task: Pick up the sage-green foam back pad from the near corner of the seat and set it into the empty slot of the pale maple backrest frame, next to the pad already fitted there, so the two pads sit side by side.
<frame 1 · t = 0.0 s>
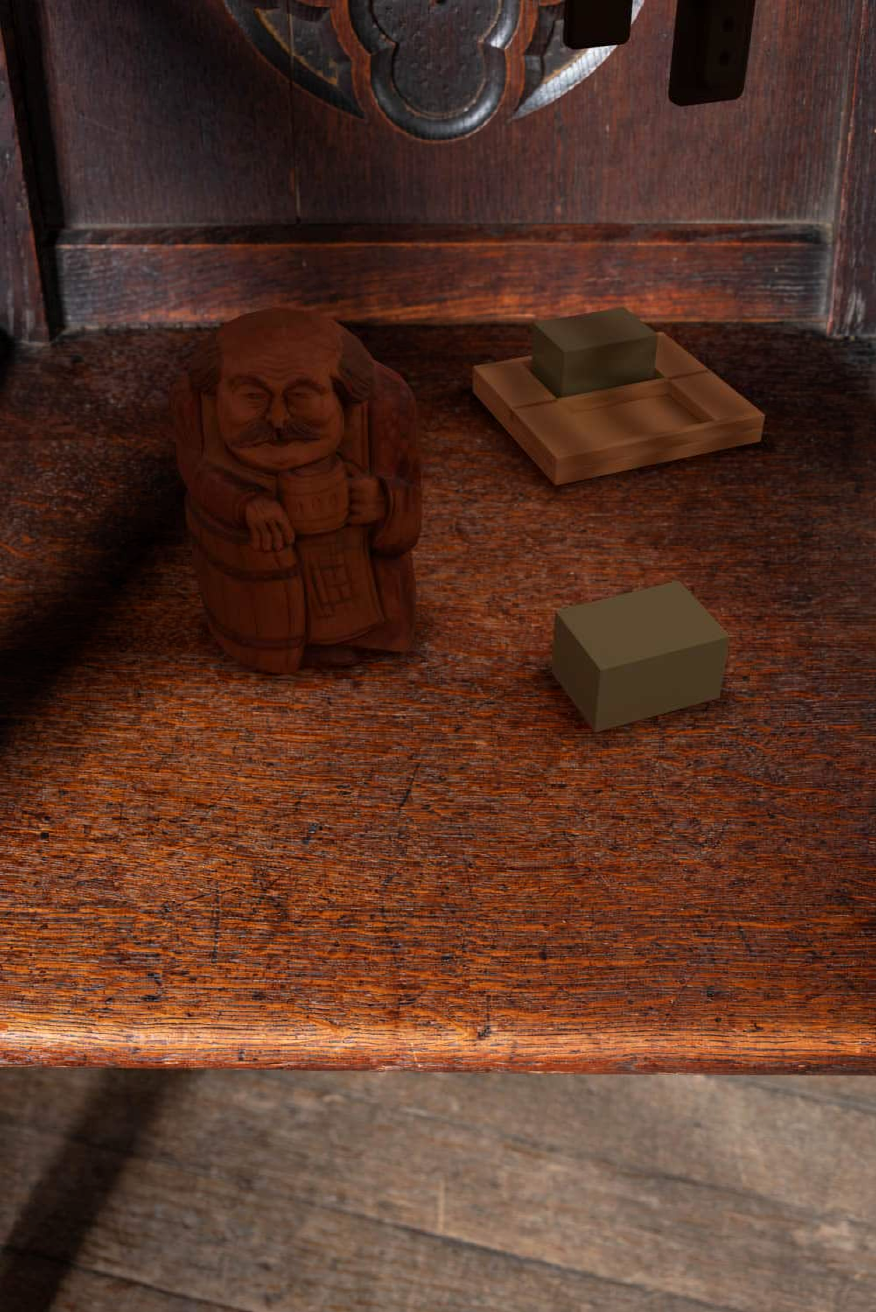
hand: (647, 71, 54), 27 cm above the bench, tool pointing down, fingers open, 9 cm apart
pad: (634, 685, 64), on the bench
frame: (611, 416, 86), on the bench
wooden figurine: (314, 638, 68), on the bench
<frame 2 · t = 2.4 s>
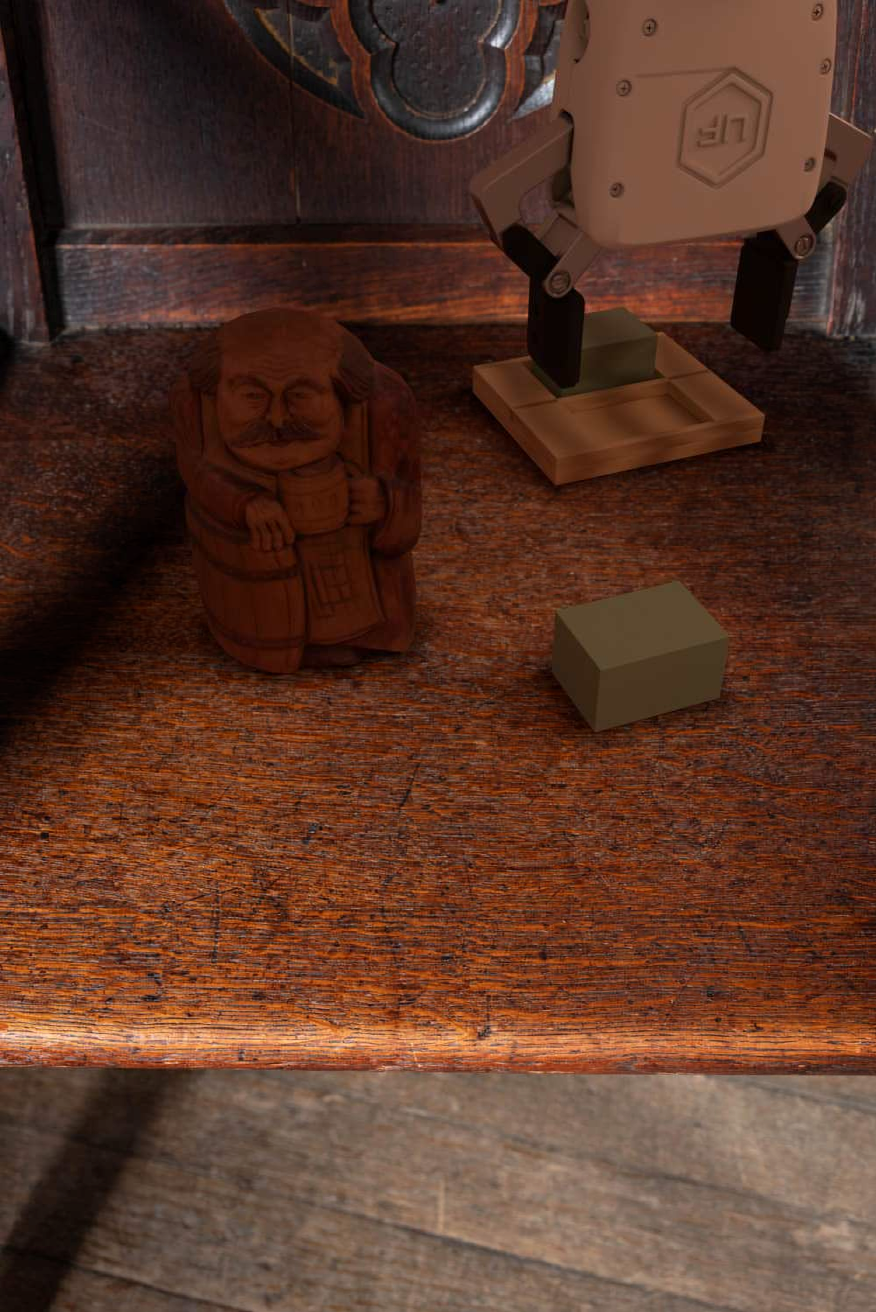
hand: (657, 356, 54), 17 cm above the bench, tool pointing down, fingers open, 9 cm apart
nothing on the bench moved.
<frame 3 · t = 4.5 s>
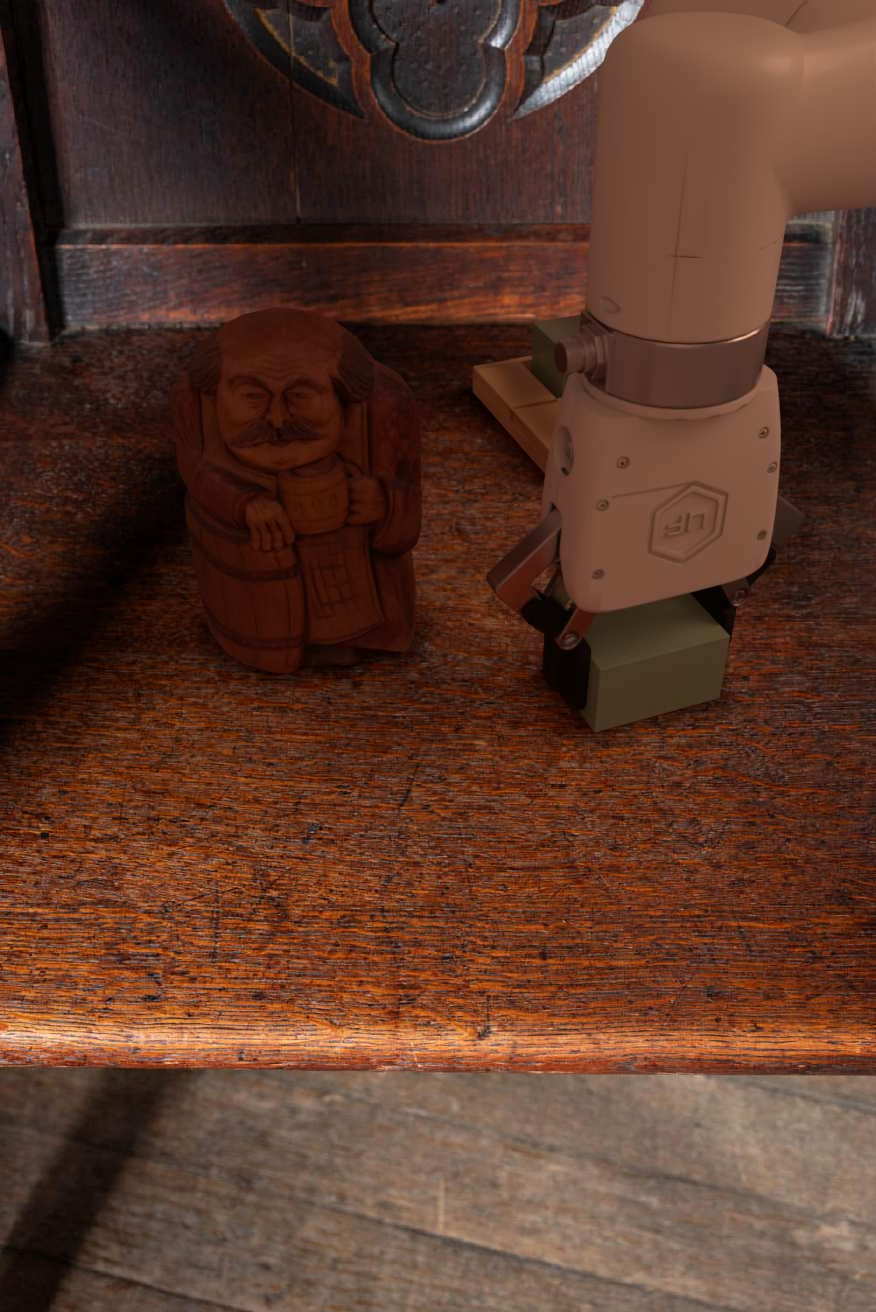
hand: (635, 673, 63), 1 cm above the bench, tool pointing down, fingers closed on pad, 7 cm apart
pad: (634, 685, 64), on the bench, touching gripper
everything else where it was.
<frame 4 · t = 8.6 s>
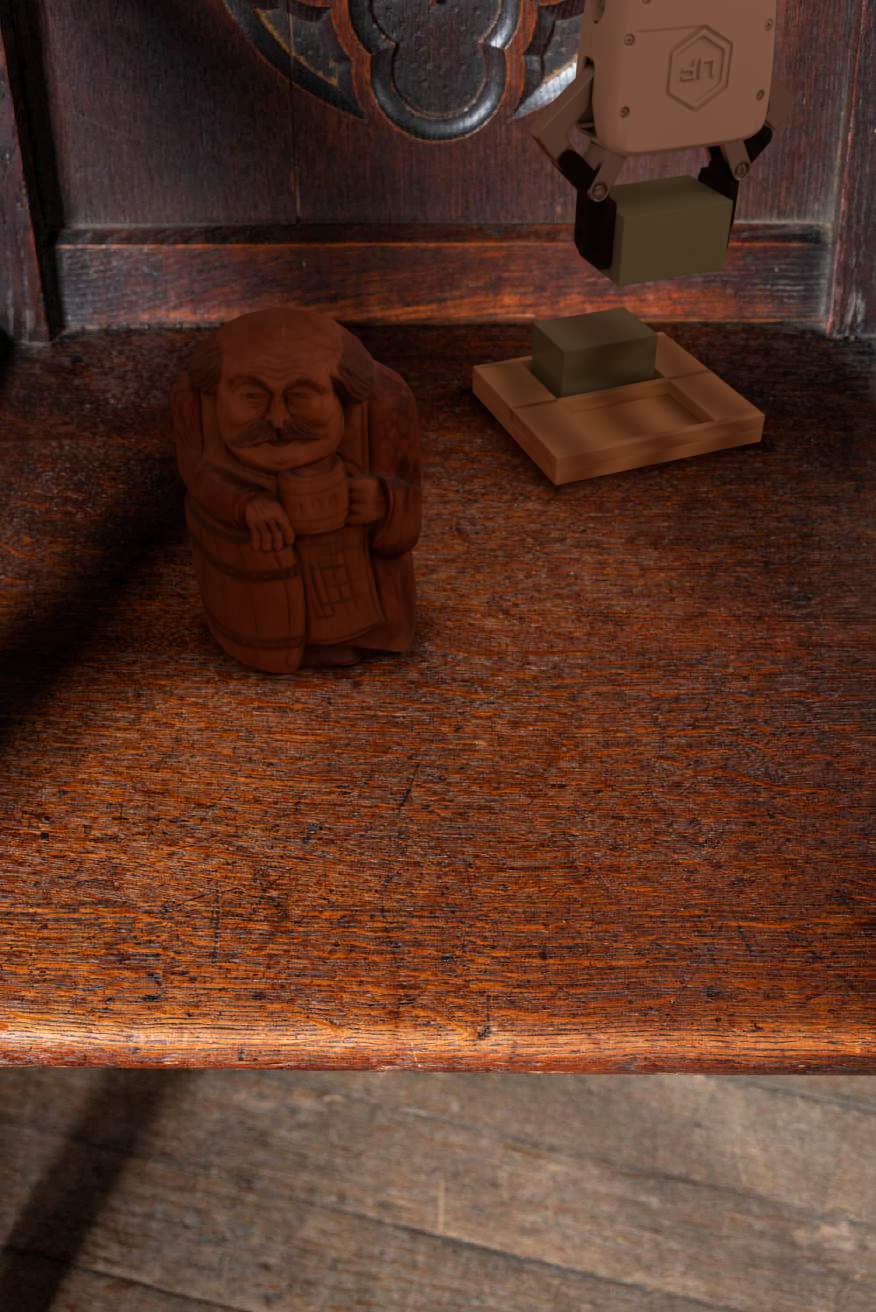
hand: (652, 250, 75), 13 cm above the bench, tool pointing down, fingers closed on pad, 7 cm apart
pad: (651, 262, 75), point 12 cm above the bench, touching gripper
everything else where it was.
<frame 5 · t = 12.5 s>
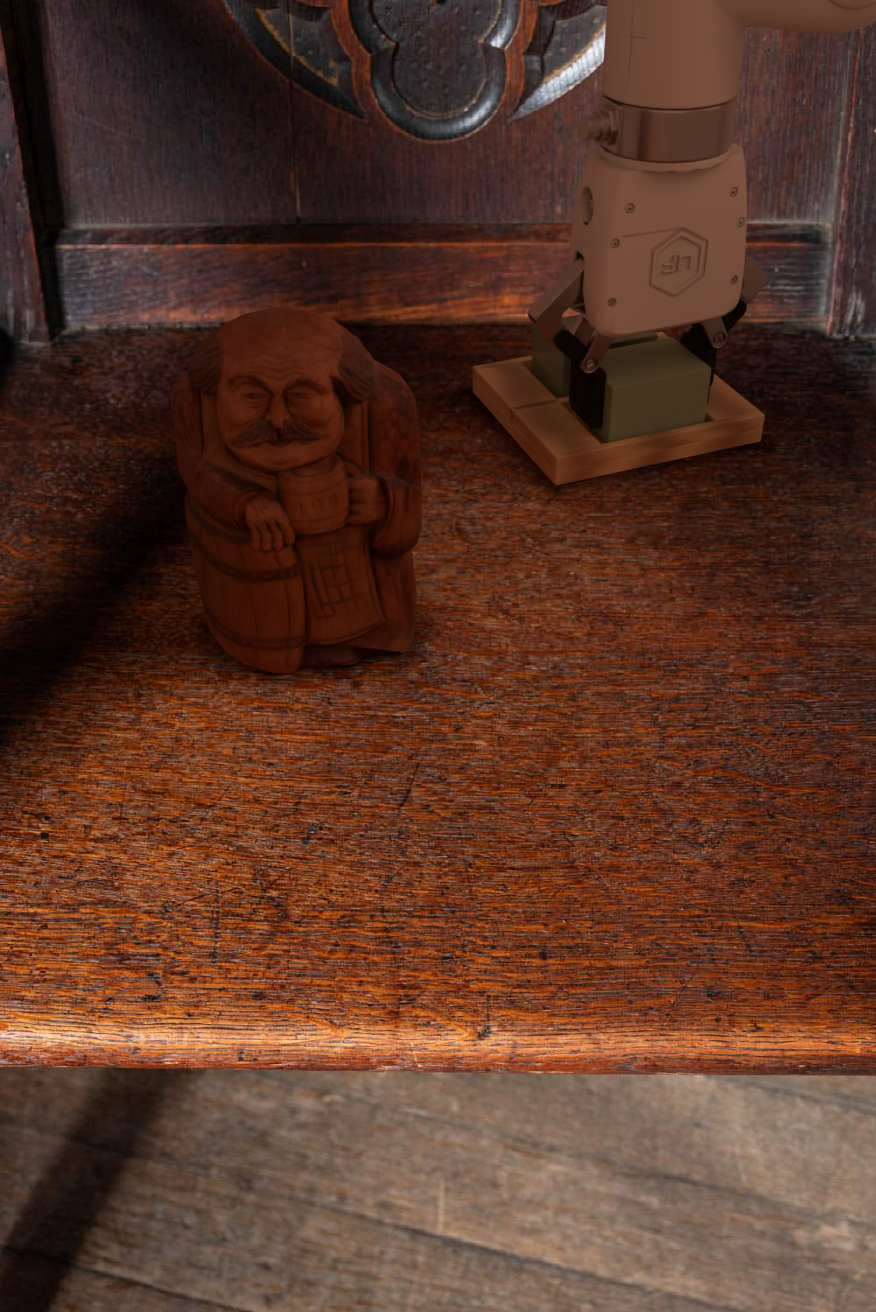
hand: (640, 406, 82), 2 cm above the bench, tool pointing down, fingers closed on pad, 7 cm apart
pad: (638, 417, 83), point 1 cm above the bench, touching gripper
everything else where it was.
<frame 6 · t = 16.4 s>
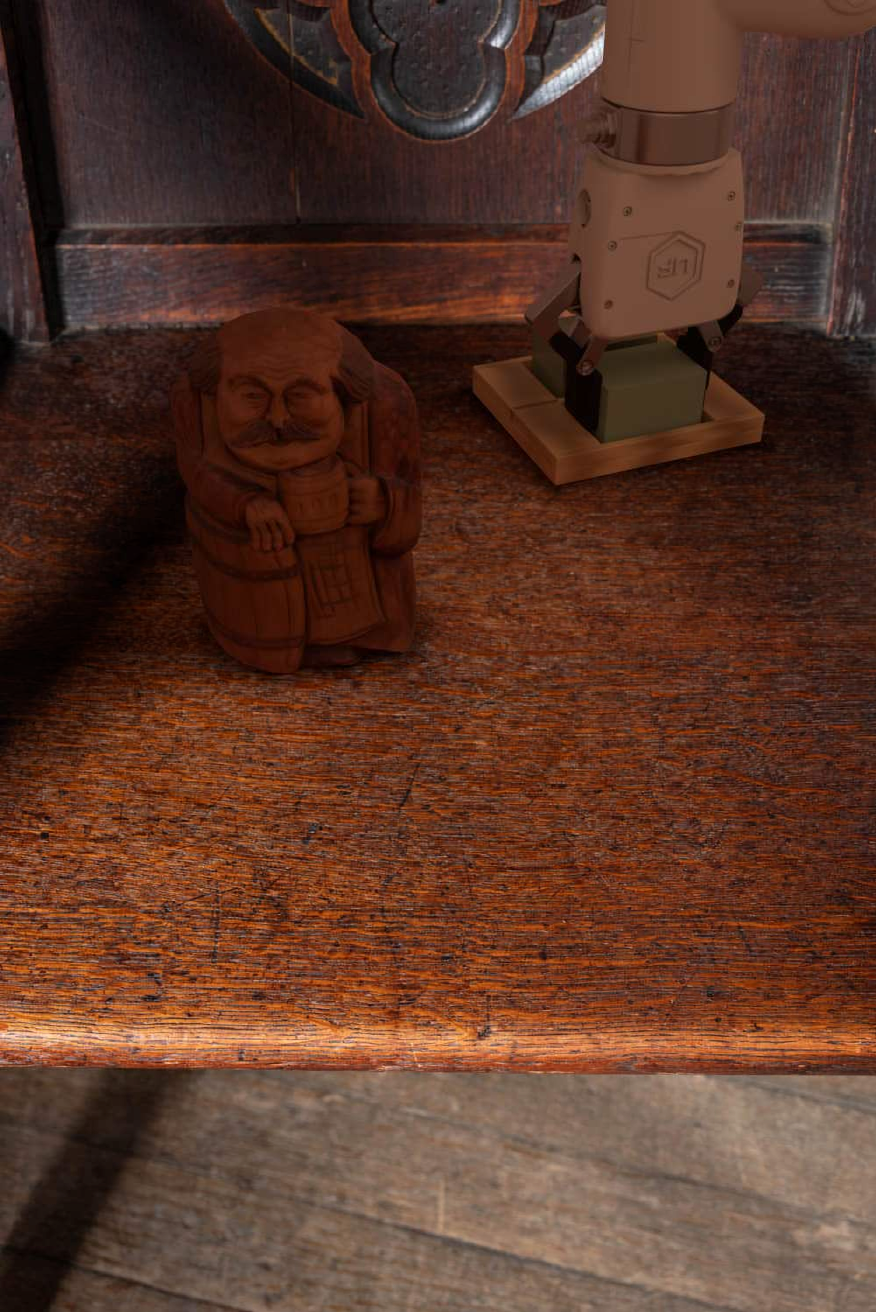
hand: (635, 409, 82), 2 cm above the bench, tool pointing down, fingers closed on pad, 7 cm apart
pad: (634, 420, 83), point 1 cm above the bench, touching gripper
everything else where it was.
when the fingers open (3 cm above the bench, at t = 20.0 s): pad drops 1 cm, resting on frame.
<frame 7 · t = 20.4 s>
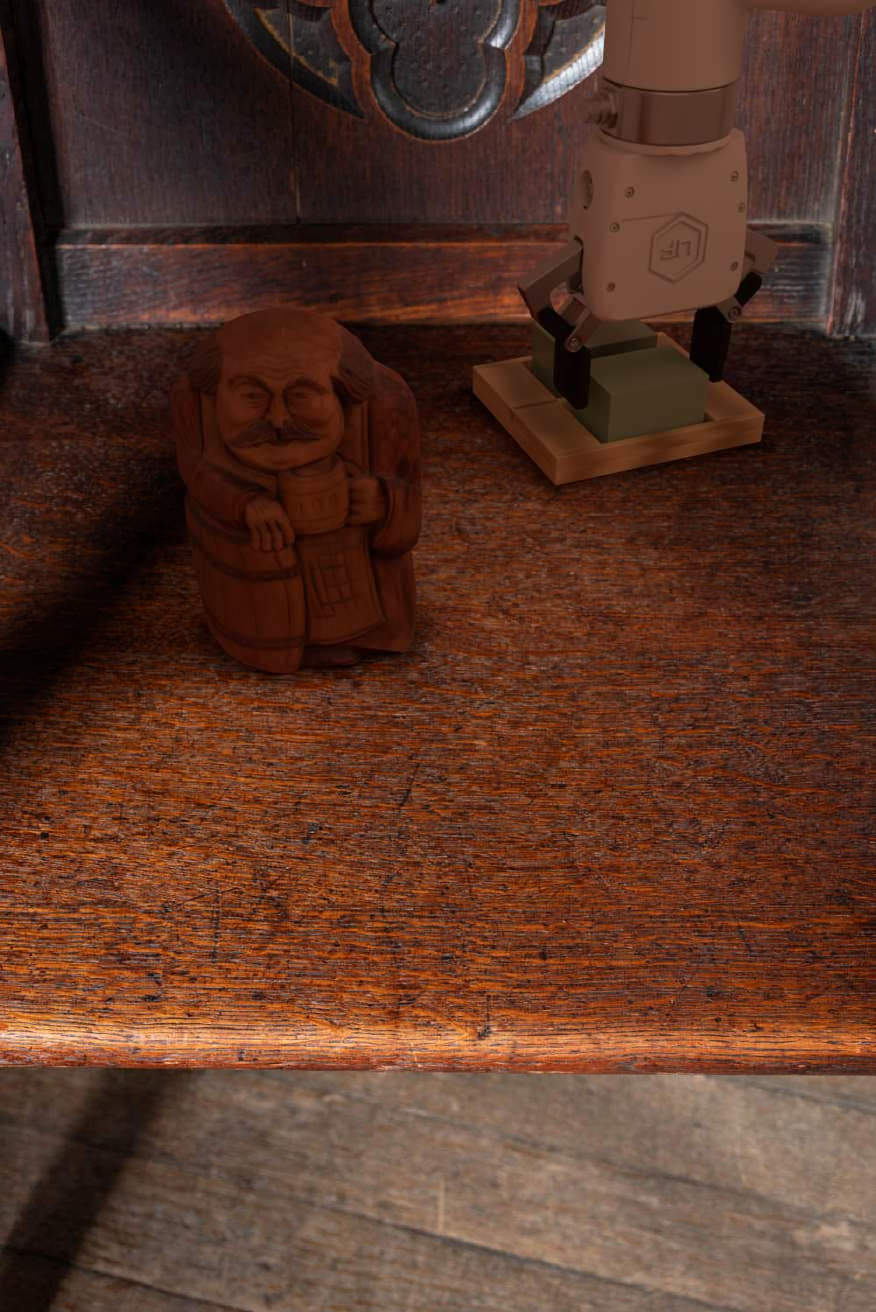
hand: (639, 386, 81), 4 cm above the bench, tool pointing down, fingers open, 9 cm apart
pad: (636, 424, 83), point 1 cm above the bench, touching frame
everything else where it was.
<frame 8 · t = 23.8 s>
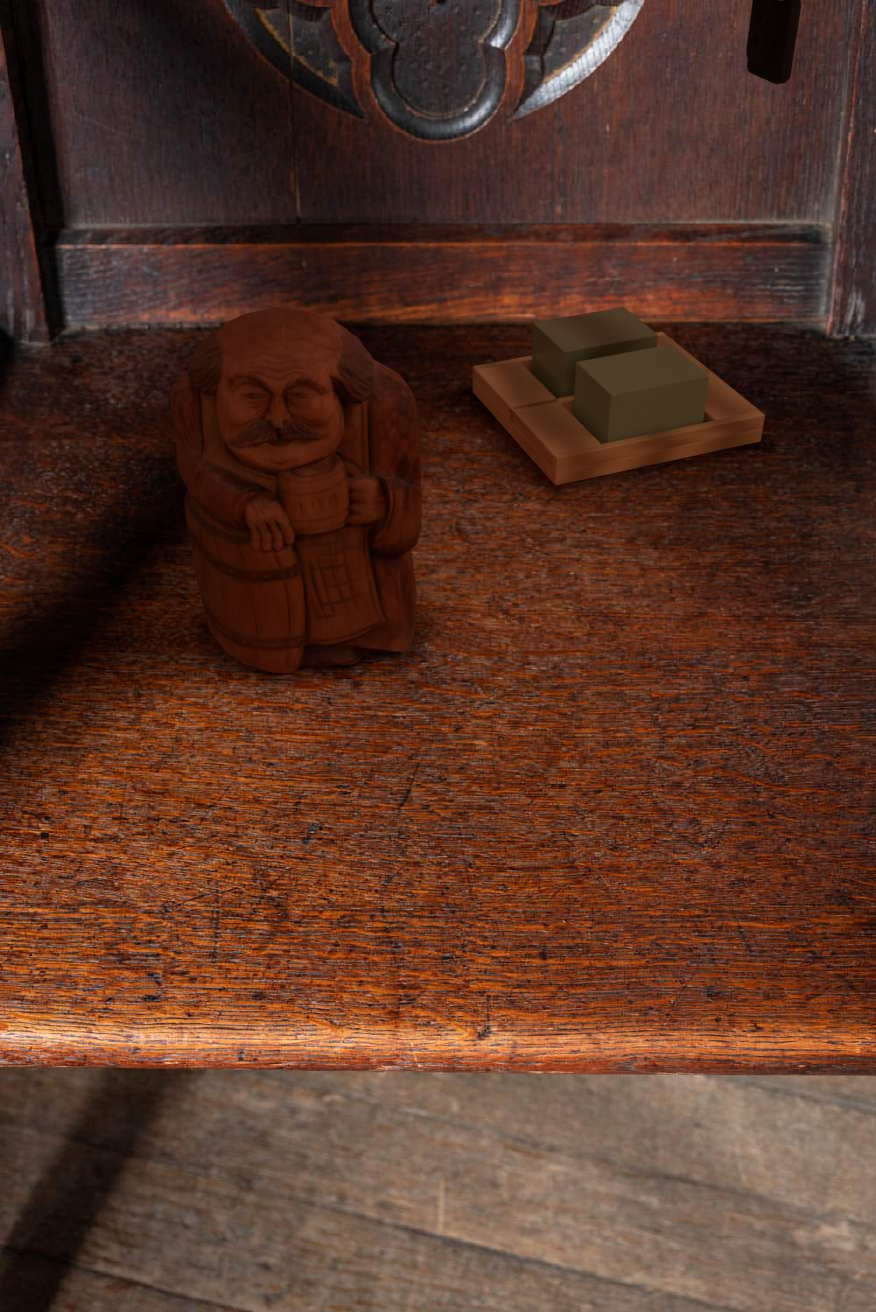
hand: (844, 68, 68), 23 cm above the bench, tool pointing down, fingers open, 9 cm apart
nothing on the bench moved.
at the end: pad 0.1 cm from the target spot on the frame, point 1.0 cm above the frame's base; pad tilted 0°; the gripper is holding nothing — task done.
